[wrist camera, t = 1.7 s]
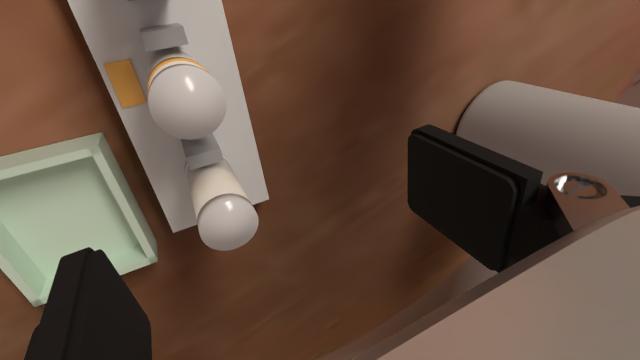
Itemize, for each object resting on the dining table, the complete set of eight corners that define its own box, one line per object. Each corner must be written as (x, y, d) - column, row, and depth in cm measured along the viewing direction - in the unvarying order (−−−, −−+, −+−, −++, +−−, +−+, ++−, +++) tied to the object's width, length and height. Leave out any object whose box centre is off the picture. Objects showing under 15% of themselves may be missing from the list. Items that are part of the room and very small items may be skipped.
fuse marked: (137, 51, 22) (135, 75, 15) (193, 41, 23) (215, 59, 16) (158, 104, 24) (164, 148, 17) (208, 92, 25) (234, 129, 18)
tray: (-48, 168, 22) (-70, 188, 20) (102, 131, 25) (97, 145, 23) (43, 281, 28) (34, 307, 26) (156, 241, 31) (157, 261, 29)
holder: (-3, -167, 17) (-58, -231, 12) (175, -165, 20) (185, -217, 15) (171, 220, 31) (177, 261, 26) (263, 189, 34) (283, 221, 29)
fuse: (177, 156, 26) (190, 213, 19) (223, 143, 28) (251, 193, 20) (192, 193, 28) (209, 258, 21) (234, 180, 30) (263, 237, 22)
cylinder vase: (463, 185, 48) (690, 315, 28) (441, 121, 40) (730, 238, 20) (525, 131, 49) (789, 220, 29) (515, 58, 41) (863, 112, 21)
